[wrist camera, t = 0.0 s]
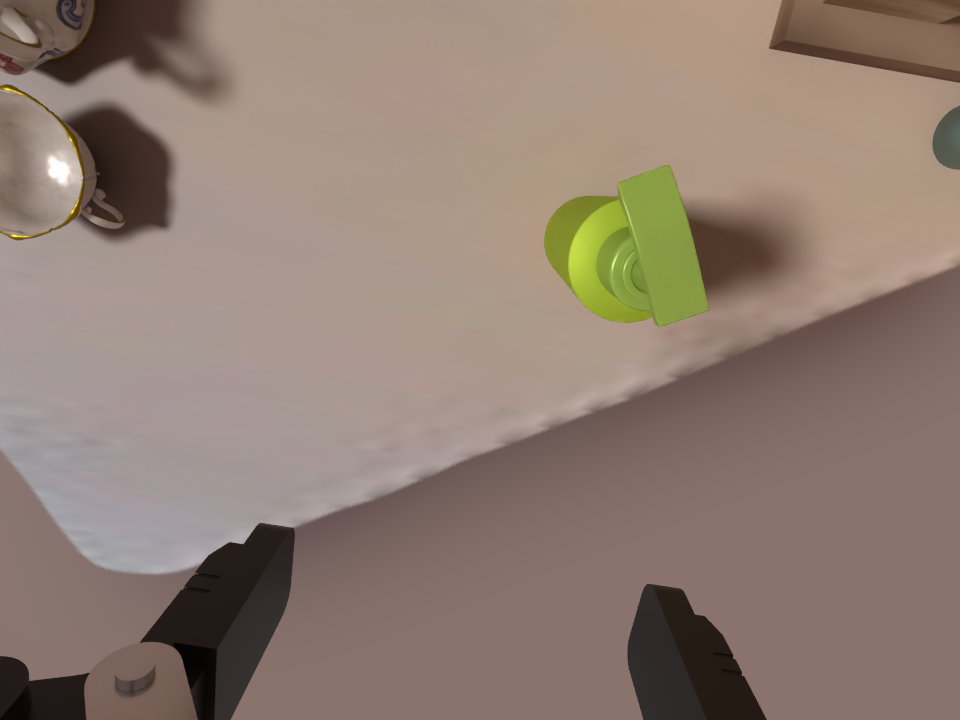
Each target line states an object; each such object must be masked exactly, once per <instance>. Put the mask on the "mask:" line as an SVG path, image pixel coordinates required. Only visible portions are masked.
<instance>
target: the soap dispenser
mask: <svg viewBox="0 0 960 720" xmlns="http://www.w3.org/2000/svg"><path fill="white" fill-rule="evenodd" d="M618 196H619V197H608V196H584V197H579V198H575V199H573V200H570V201H568V202H567V203H565V204H564V205H562V206H561V207H560V208H559V209H558V210H557V211H556V212H555V213H554V214H553V216H552V217H551V219H550V221H549V223H548V225H547V228H546V231H545V238H544V246H545V252H546V255H547V258H548V260H549V262H550V264H551V265H552V267H553V268H554V269H555V270H556V272H557V273H558V274H559V275H560V277H561V278H562V279H563V280H564V281H565V283H566V284H567V285H568V286H569V288H570V289H571V290H572V291H573V293H574V294H575V295H576V296H577V297H578V299H579V300H580V301H581V302H582V303H583V305H584V306H585V307H587V308H588V309H589V310H590V311H591V312H593V313H594V314H596V315H598V316H600V317H602V318H604V319H607V320H610V321H615V322H623V323H630V322H638V321H642V320H646V319H649V318H651V317H653V320H654V323H655V324H656V325H657V326H658V327H661V326H664V325H667V324H670V323H673V322H676V321H679V320H682V319H685V318H688V317H691V316H694V315H697V314H700V313H703V312H706V311H709V307H708V302H707V298H706V293H705V288H704V284H703V279H702V275H701V270H700V266H699V262H698V257H697V253H696V249H695V245H694V241H693V237H692V233H691V230H690V226H689V222H688V219H687V215H686V212H685V209H684V206H683V202H682V199H681V196H680V193H679V190H678V187H677V184H676V181H675V178H674V175H673V172H672V170H671V167H670V165H665V166H662V167H660V168H657V169H654V170H651V171H649V172H646V173H643V174H640V175H638V176H635V177H632V178H630V179H627V180H624V181H621V182H619V183H618Z"/></svg>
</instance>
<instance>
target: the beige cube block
mask: <svg viewBox="0 0 960 720" xmlns="http://www.w3.org/2000/svg"><path fill="white" fill-rule="evenodd" d="M822 3H824V4H830V5H836V6H841V7H847V8H852V9H858V10H863V11H869V12H874V13H880V14H885V15H891V16H896V17H902V18H907V19H913V20H918V21H924V22H929V23H935V24H938V23H941V22H944V21H946V20H949V19H951V18H954V17H957V16H959V15H960V0H822Z"/></svg>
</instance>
